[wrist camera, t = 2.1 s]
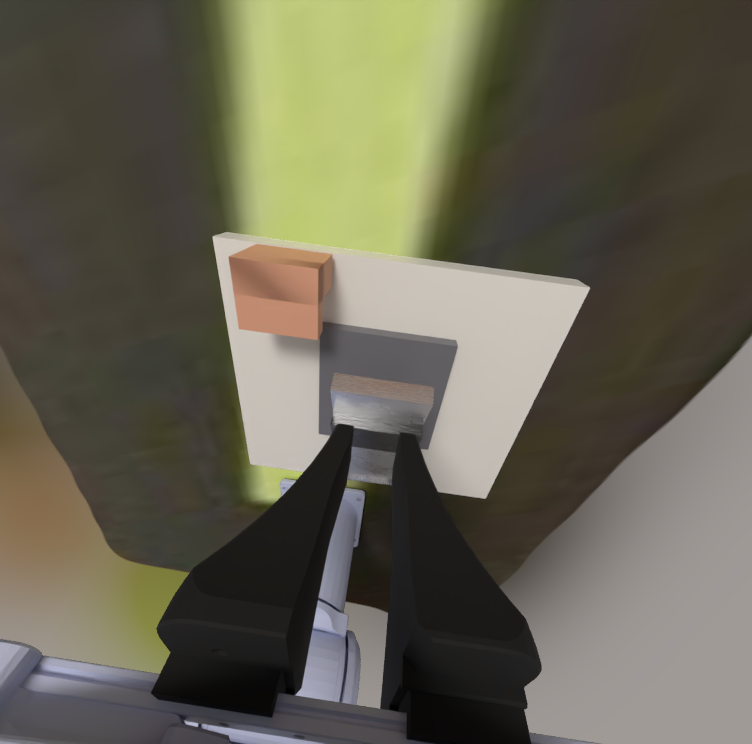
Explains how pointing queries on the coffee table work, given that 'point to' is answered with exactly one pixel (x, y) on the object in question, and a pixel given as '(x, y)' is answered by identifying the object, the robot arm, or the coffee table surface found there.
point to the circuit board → (405, 356)
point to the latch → (280, 290)
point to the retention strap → (378, 421)
